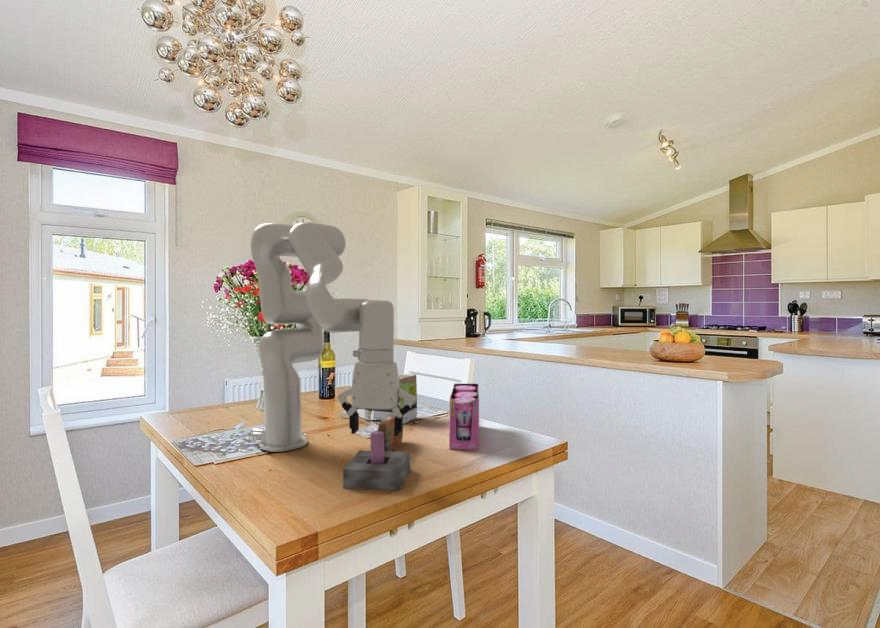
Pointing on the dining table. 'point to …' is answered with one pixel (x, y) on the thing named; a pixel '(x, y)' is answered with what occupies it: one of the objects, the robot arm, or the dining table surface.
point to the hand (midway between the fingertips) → (376, 433)
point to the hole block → (377, 471)
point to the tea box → (408, 385)
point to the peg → (377, 448)
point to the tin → (390, 434)
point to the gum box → (464, 417)
